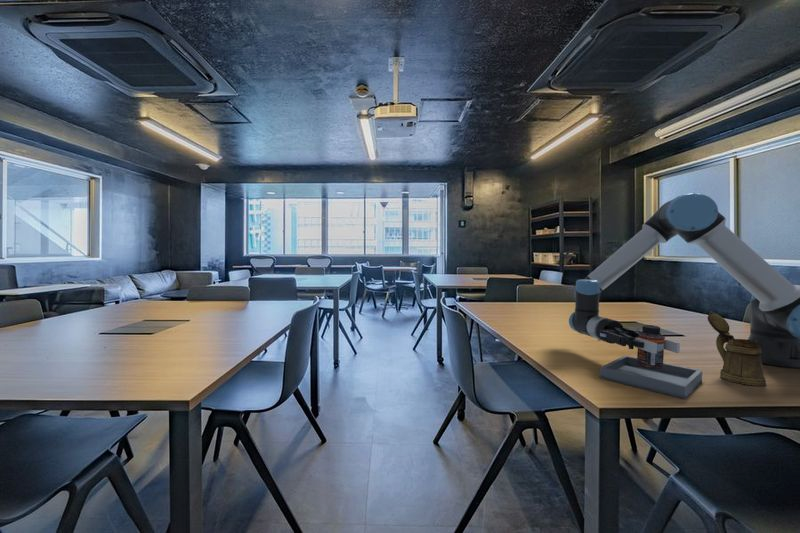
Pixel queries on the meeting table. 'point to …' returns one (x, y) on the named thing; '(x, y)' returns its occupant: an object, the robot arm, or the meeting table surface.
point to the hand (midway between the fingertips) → (666, 348)
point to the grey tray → (653, 377)
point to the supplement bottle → (649, 358)
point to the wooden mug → (737, 355)
